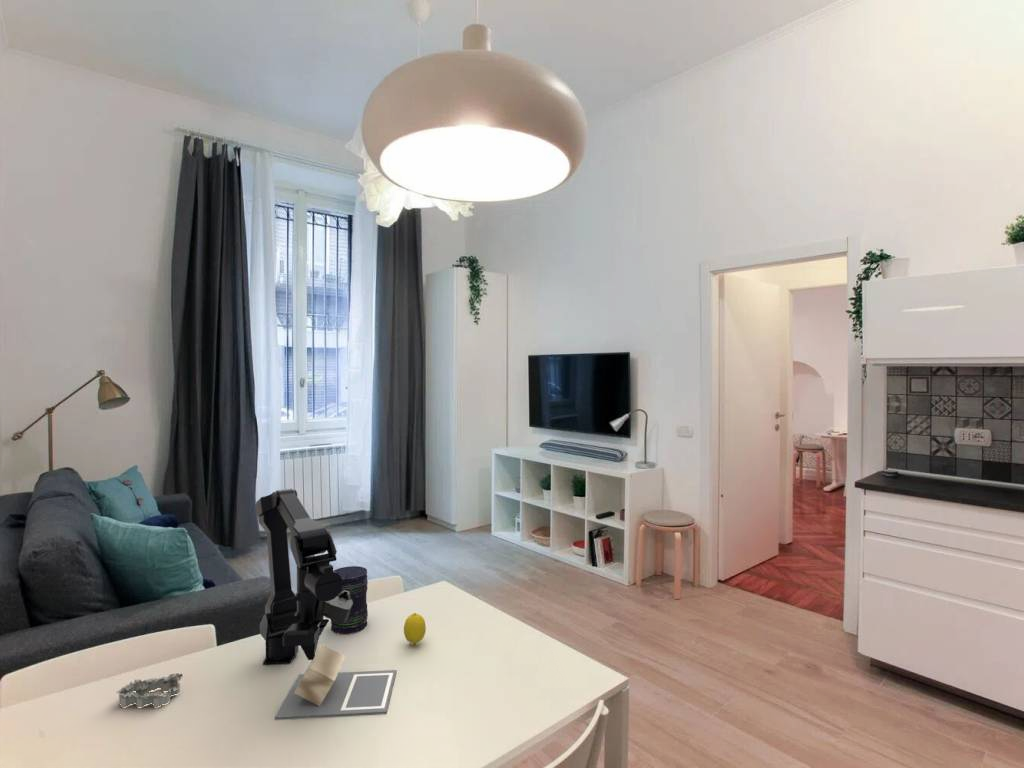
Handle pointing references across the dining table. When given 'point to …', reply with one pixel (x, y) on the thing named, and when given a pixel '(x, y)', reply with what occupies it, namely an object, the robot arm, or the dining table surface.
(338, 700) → the mat
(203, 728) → the dining table surface
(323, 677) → the block
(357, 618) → the storage jar
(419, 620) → the lemon
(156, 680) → the egg carton
